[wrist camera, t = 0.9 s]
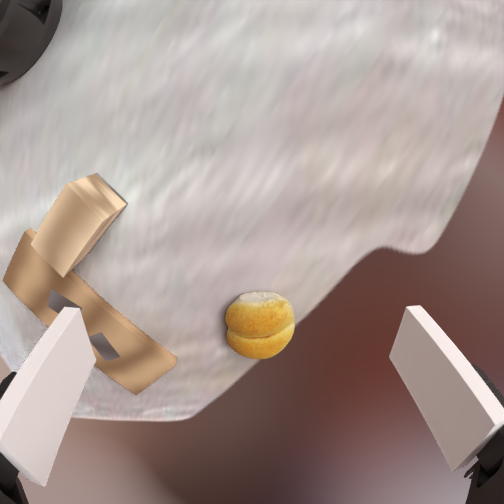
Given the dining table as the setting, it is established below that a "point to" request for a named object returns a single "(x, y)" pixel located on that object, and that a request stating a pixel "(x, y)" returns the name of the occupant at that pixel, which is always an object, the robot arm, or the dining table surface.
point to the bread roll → (259, 324)
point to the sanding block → (77, 222)
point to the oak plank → (87, 318)
